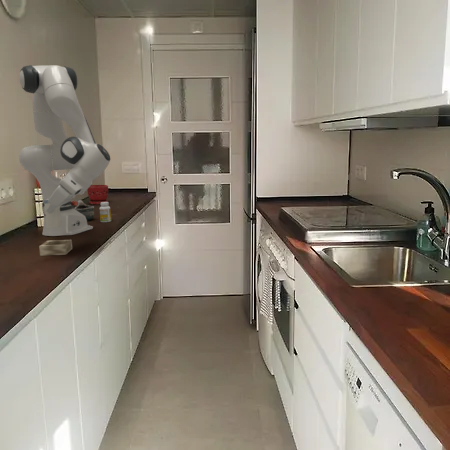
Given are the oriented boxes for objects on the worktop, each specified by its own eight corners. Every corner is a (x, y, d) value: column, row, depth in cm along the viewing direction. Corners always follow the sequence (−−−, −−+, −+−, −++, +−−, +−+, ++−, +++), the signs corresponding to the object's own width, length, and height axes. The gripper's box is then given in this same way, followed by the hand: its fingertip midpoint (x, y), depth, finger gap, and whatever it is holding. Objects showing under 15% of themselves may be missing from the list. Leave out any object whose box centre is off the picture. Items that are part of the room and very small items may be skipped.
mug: (81, 222, 226) (79, 203, 224) (69, 220, 234) (67, 201, 232) (98, 220, 233) (97, 200, 231) (85, 217, 241) (84, 199, 239)
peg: (61, 225, 167) (58, 198, 166) (58, 227, 163) (55, 199, 162) (50, 225, 167) (47, 198, 165) (46, 227, 163) (43, 200, 161)
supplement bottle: (107, 220, 232) (105, 201, 230) (113, 221, 228) (112, 202, 227) (98, 221, 228) (96, 202, 226) (104, 222, 224) (103, 203, 222)
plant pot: (98, 205, 285) (96, 186, 283) (84, 204, 293) (82, 186, 290) (113, 202, 296) (112, 184, 294) (99, 201, 303) (98, 184, 301)
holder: (72, 248, 172) (71, 239, 171) (65, 254, 163) (64, 245, 162) (48, 249, 171) (47, 240, 171) (40, 255, 163) (39, 246, 162)
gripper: (76, 175, 173) (52, 201, 174) (60, 179, 152) (34, 209, 154) (89, 186, 174) (65, 212, 175) (75, 192, 154) (48, 221, 155)
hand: (50, 211), depth 164 cm, fingers closed on peg, 4 cm apart
